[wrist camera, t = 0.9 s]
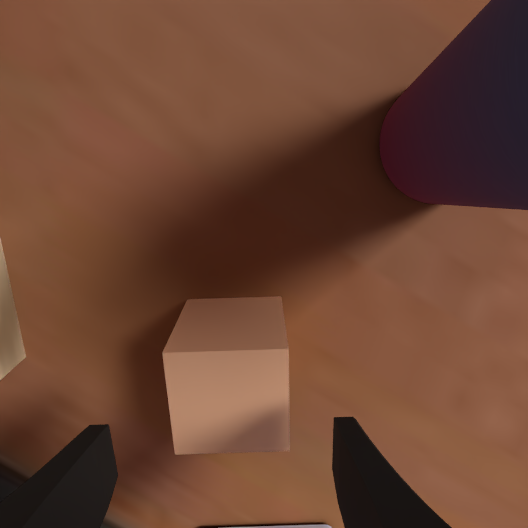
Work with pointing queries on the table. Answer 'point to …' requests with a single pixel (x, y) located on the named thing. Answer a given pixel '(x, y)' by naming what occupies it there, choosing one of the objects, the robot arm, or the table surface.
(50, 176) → the table surface
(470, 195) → the cup
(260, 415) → the terracotta cube
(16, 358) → the oak block
